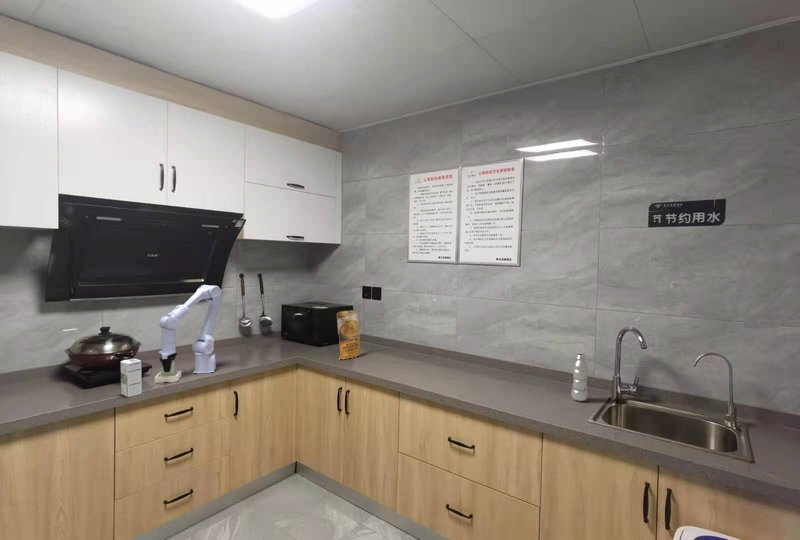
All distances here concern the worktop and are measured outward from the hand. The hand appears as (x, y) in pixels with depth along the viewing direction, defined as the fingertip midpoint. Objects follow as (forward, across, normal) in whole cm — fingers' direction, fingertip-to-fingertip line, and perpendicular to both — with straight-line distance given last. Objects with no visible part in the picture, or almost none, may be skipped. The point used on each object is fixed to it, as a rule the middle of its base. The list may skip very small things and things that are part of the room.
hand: (168, 370), depth 191 cm
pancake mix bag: (+5, -24, +90) cm, 93 cm away
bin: (+5, 0, 0) cm, 5 cm away
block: (+2, 0, 0) cm, 2 cm away
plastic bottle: (+5, +71, +174) cm, 188 cm away
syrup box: (+5, +18, -10) cm, 21 cm away
